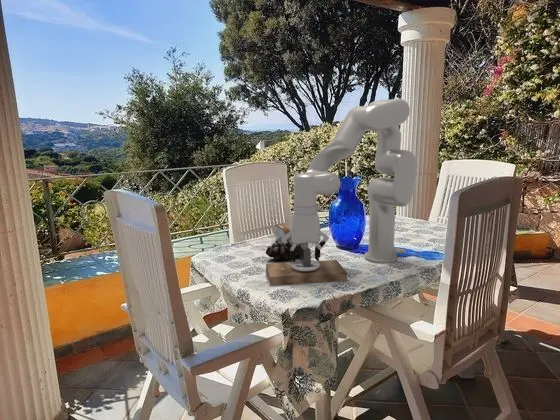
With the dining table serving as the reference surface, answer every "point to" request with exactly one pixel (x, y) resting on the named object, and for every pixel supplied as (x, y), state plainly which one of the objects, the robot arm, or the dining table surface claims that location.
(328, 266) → the brown wooden board
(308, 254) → the dial knob
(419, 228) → the dining table surface
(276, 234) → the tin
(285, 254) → the pine cone
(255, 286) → the dining table surface
